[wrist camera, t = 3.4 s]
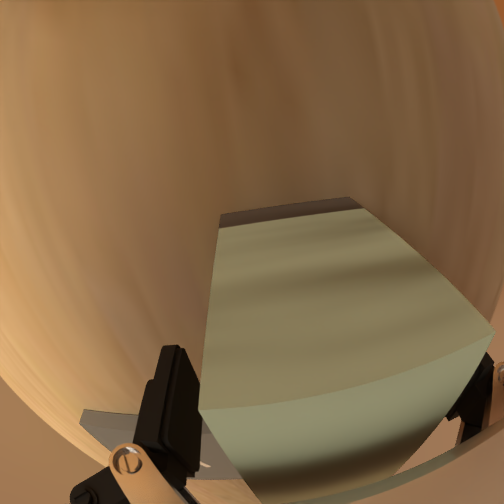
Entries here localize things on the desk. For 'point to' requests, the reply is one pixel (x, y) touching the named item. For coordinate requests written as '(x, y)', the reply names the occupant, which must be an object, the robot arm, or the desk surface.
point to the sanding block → (328, 348)
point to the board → (122, 431)
